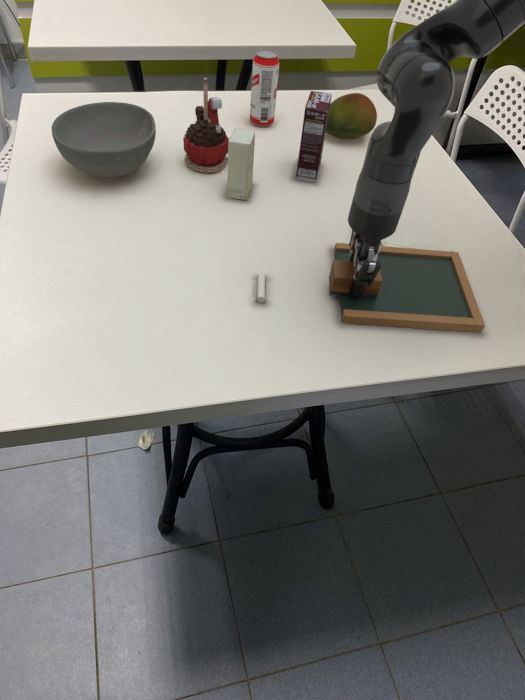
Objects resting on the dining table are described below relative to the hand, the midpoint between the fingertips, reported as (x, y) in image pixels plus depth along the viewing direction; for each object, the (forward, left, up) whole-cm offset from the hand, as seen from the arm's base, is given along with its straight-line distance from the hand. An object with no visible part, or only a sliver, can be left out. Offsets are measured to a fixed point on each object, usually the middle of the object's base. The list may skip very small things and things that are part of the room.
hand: (353, 284), depth 85 cm
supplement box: (+6, -39, -2) cm, 40 cm away
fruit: (-4, -57, -2) cm, 57 cm away
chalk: (+17, +1, -2) cm, 17 cm away
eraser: (0, 0, -1) cm, 1 cm away
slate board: (-9, -2, -2) cm, 9 cm away
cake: (+29, -39, -2) cm, 49 cm away
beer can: (+17, -61, -2) cm, 63 cm away
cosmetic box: (+21, -29, -2) cm, 36 cm away
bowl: (+49, -34, -2) cm, 60 cm away
